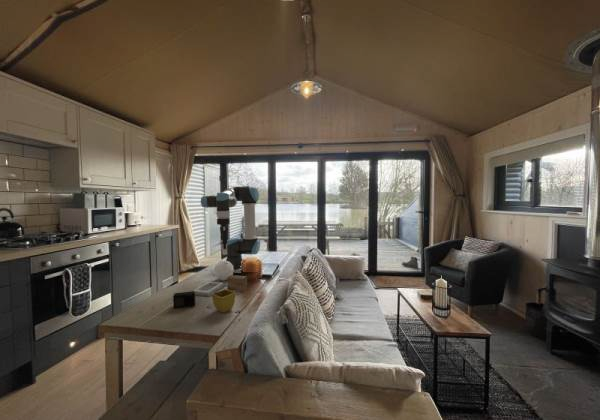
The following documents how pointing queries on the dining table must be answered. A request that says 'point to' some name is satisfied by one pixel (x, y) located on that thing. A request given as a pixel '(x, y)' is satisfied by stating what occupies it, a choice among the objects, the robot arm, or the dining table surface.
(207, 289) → the grey flat frame
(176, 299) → the digital camera
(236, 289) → the walnut block
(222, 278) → the geodesic sphere
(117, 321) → the dining table surface
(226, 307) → the flower pot
